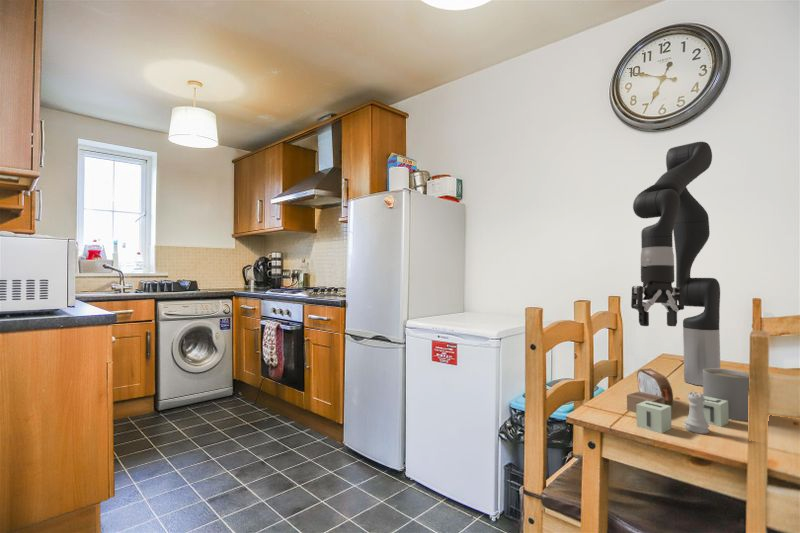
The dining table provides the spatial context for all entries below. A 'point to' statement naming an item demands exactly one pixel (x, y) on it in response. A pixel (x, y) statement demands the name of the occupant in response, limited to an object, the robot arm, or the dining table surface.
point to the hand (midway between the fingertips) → (658, 326)
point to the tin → (655, 384)
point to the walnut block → (642, 399)
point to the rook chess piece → (696, 414)
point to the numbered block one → (653, 416)
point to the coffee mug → (728, 390)
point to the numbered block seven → (715, 411)
